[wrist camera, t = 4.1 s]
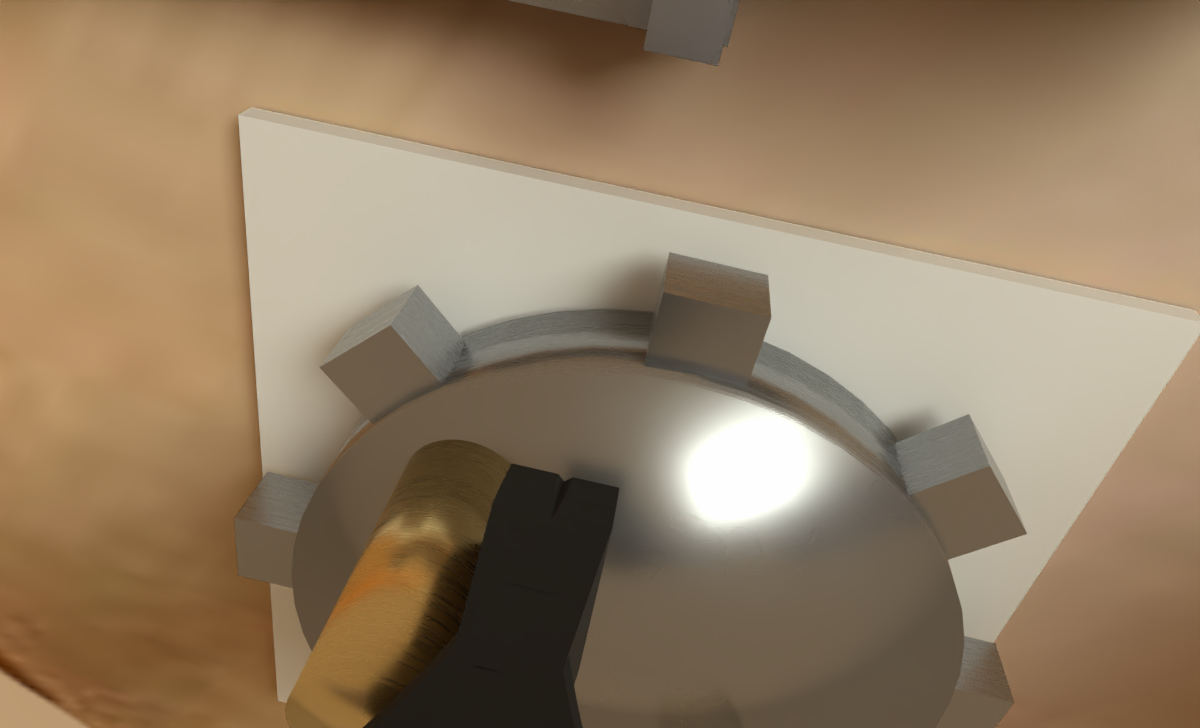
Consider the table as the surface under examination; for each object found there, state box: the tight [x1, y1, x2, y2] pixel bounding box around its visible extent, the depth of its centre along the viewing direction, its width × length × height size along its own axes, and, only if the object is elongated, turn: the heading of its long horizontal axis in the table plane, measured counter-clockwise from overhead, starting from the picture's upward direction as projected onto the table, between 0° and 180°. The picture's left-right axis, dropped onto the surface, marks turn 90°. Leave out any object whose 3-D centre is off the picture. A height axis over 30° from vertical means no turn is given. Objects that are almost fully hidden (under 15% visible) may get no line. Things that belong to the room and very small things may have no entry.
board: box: [238, 107, 1200, 703], centre depth 16 cm, size 14×14×1 cm
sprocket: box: [234, 252, 1027, 728], centre depth 13 cm, size 13×13×6 cm
